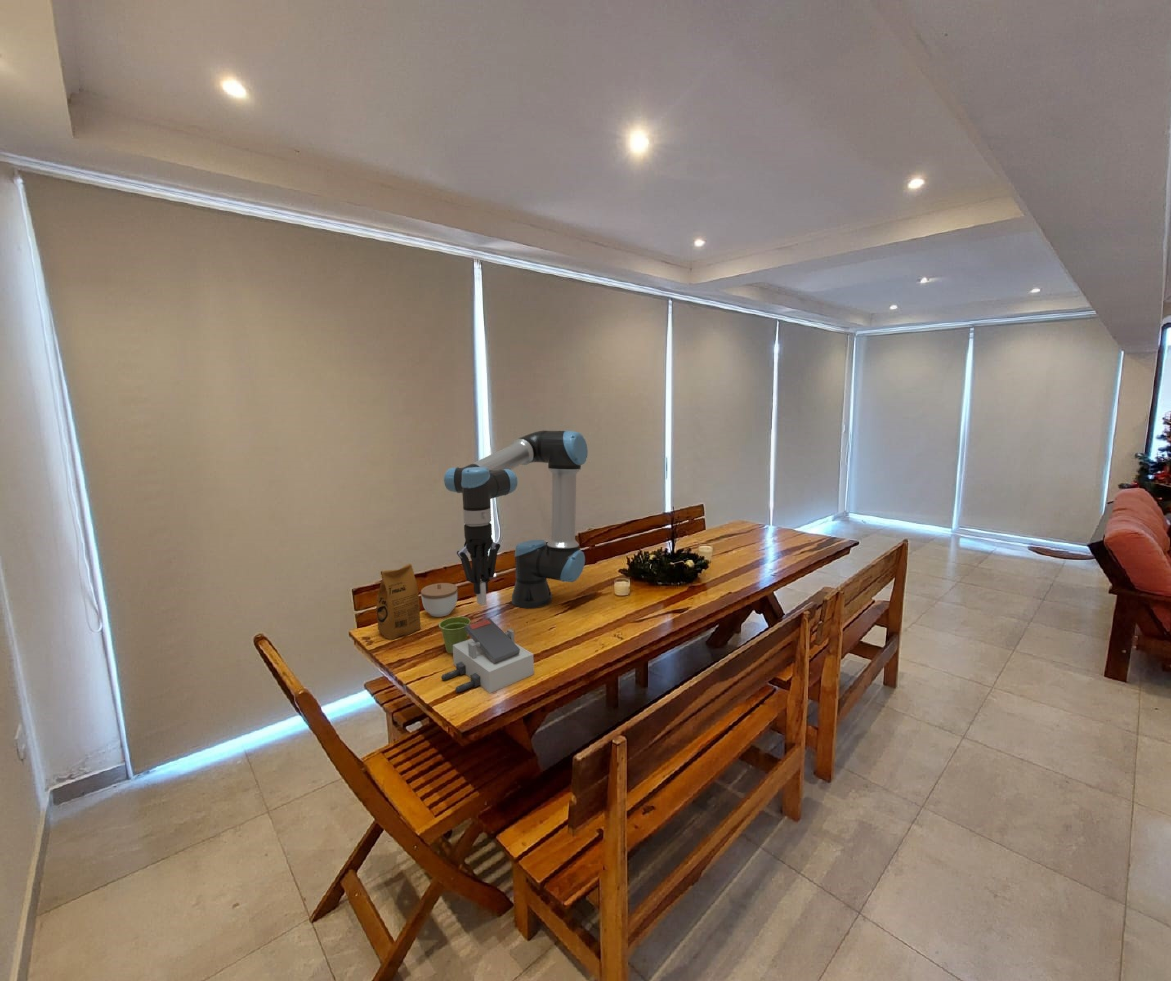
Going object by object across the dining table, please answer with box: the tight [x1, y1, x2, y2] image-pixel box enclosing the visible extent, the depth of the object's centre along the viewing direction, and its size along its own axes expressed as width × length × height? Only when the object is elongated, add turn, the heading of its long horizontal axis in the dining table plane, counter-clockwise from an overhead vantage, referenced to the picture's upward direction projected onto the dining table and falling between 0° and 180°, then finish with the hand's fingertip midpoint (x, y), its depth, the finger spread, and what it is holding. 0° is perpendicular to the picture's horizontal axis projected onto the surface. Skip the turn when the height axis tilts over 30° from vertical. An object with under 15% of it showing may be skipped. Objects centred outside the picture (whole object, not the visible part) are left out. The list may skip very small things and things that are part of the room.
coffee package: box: [376, 563, 421, 641], centre depth 167 cm, size 10×12×22 cm
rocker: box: [465, 617, 520, 664], centre depth 143 cm, size 11×16×2 cm, turn 42°
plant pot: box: [438, 616, 472, 654], centre depth 156 cm, size 9×9×9 cm
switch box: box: [441, 628, 535, 694], centre depth 141 cm, size 21×20×10 cm
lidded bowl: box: [420, 582, 458, 618], centre depth 183 cm, size 13×13×11 cm
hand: (481, 603), depth 146 cm, fingers closed
